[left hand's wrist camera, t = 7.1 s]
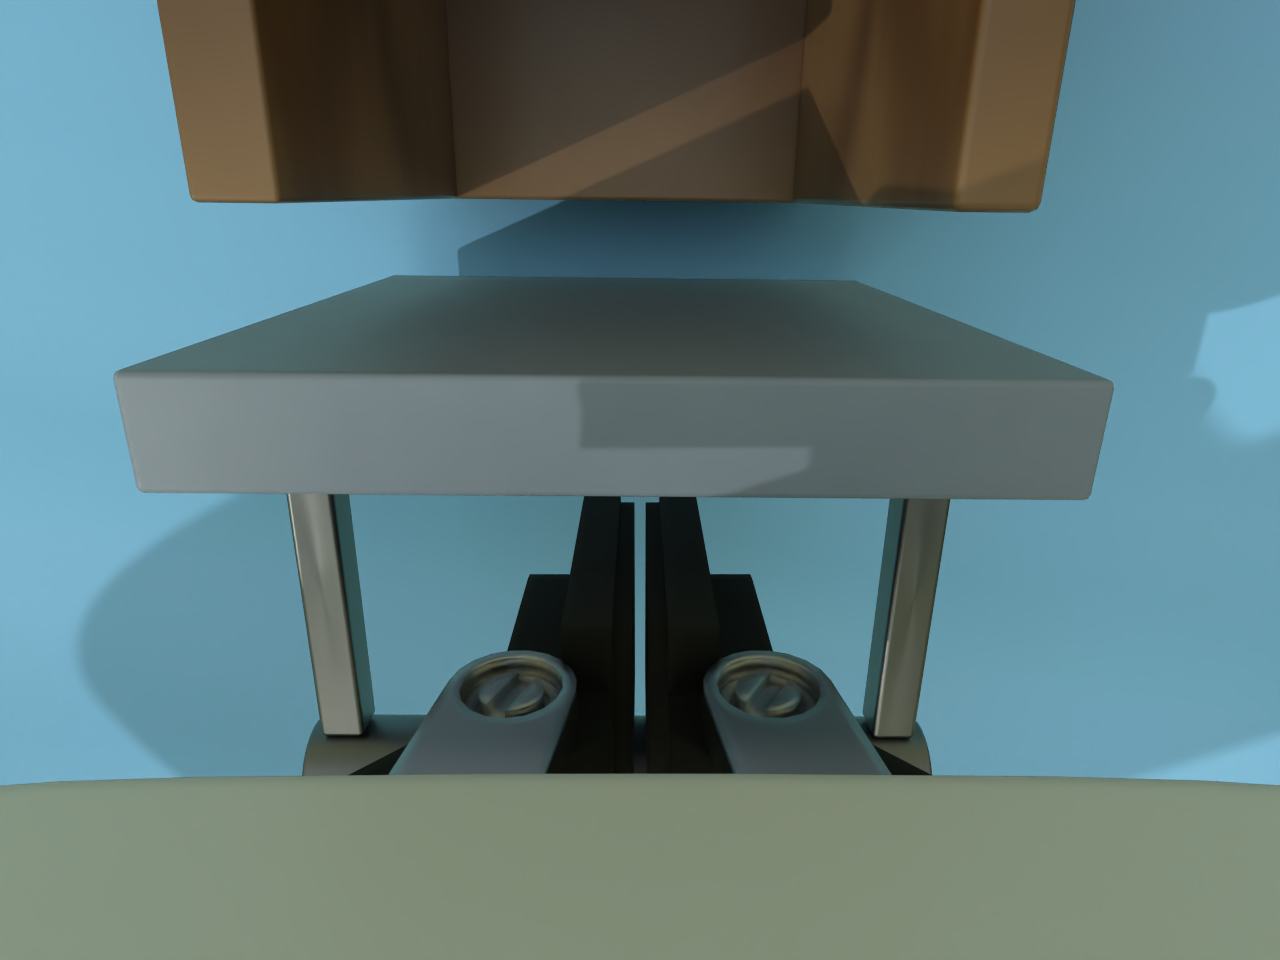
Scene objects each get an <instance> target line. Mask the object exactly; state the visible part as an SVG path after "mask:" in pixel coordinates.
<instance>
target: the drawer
mask: <svg viewBox="0 0 1280 960" xmlns="http://www.w3.org/2000/svg"><path fill="white" fill-rule="evenodd" d="M1075 1H1076V0H157V4H158V10H159V16H160V22H161V28H162V33H163V39H164V45H165V51H166V57H167V63H168V69H169V75H170V80H171V86H172V92H173V98H174V104H175V110H176V116H177V122H178V128H179V133H180V139H181V145H182V151H183V157H184V163H185V169H186V175H187V181H188V186H189V192H190V196H191V198H192V200H194V201H196V202H216V203H305V202H341V201H378V200H414V199H451V198H464V199H543V200H621V201H699V202H777V203H810V204H828V205H845V206H863V207H881V208H899V209H917V210H935V211H953V212H1010V213H1029V212H1031V211H1034V210H1036V209H1038V207H1039V205H1040V202H1041V197H1042V191H1043V185H1044V180H1045V174H1046V168H1047V162H1048V157H1049V151H1050V145H1051V139H1052V134H1053V128H1054V122H1055V116H1056V110H1057V105H1058V99H1059V93H1060V87H1061V82H1062V76H1063V70H1064V64H1065V59H1066V53H1067V47H1068V41H1069V35H1070V30H1071V24H1072V18H1073V12H1074V7H1075ZM114 384H115V388H116V393H117V398H118V402H119V407H120V411H121V416H122V421H123V425H124V430H125V434H126V439H127V444H128V448H129V453H130V458H131V462H132V467H133V471H134V476H135V481H136V485H137V488H138V489H139V491H141V492H145V493H258V494H287V501H288V507H289V514H290V521H291V527H292V534H293V541H294V548H295V554H296V561H297V568H298V574H299V581H300V588H301V595H302V601H303V608H304V615H305V621H306V628H307V635H308V642H309V648H310V655H311V662H312V668H313V675H314V682H315V689H316V695H317V702H318V709H319V715H320V720H319V721H318V722H317V724H316V725H315V727H314V729H313V731H312V733H311V736H310V738H309V741H308V745H307V748H306V752H305V757H304V764H303V773H302V776H347V775H349V774H351V773H353V772H355V771H357V770H359V769H361V768H363V767H365V766H367V765H369V764H370V763H372V762H374V761H376V760H378V759H380V758H382V757H384V756H386V755H388V754H390V753H392V752H394V751H396V750H398V749H400V748H401V747H403V746H405V745H407V744H408V743H409V742H410V740H411V739H412V737H413V736H414V734H415V733H416V731H417V730H418V728H419V726H420V725H421V723H422V722H423V720H424V719H425V717H426V716H427V715H373V714H374V711H375V708H374V699H373V691H372V683H371V674H370V666H369V658H368V649H367V641H366V633H365V624H364V616H363V608H362V600H361V591H360V583H359V575H358V566H357V558H356V550H355V541H354V533H353V525H352V516H351V508H350V500H349V494H387V495H516V496H644V497H773V498H890V503H889V510H888V518H887V526H886V534H885V542H884V549H883V557H882V565H881V573H880V581H879V589H878V596H877V604H876V612H875V620H874V628H873V636H872V643H871V651H870V659H869V667H868V675H867V683H866V690H865V698H864V706H863V715H864V717H855V719H856V720H857V722H858V723H859V725H860V726H861V728H862V730H863V731H864V733H865V734H866V736H867V737H868V739H869V740H870V742H871V743H872V744H873V745H875V746H877V747H879V748H881V749H882V750H884V751H886V752H888V753H890V754H892V755H894V756H896V757H898V758H900V759H902V760H904V761H906V762H908V763H910V764H912V765H913V766H915V767H917V768H919V769H921V770H923V771H925V772H927V773H929V774H931V775H932V770H931V761H930V755H929V750H928V747H927V743H926V740H925V737H924V734H923V732H922V730H921V728H920V726H919V724H918V723H917V722H916V716H917V709H918V703H919V696H920V690H921V683H922V677H923V671H924V664H925V658H926V651H927V645H928V638H929V632H930V626H931V619H932V613H933V606H934V600H935V593H936V587H937V580H938V574H939V568H940V561H941V555H942V548H943V542H944V535H945V529H946V523H947V516H948V510H949V503H950V499H1030V500H1084V499H1088V497H1089V496H1090V494H1091V490H1092V485H1093V481H1094V476H1095V472H1096V467H1097V463H1098V458H1099V453H1100V449H1101V444H1102V440H1103V435H1104V431H1105V426H1106V422H1107V417H1108V412H1109V408H1110V403H1111V399H1112V394H1113V390H1114V388H1113V383H1112V381H1109V380H1107V379H1105V378H1102V377H1100V376H1097V375H1095V374H1092V373H1090V372H1087V371H1084V370H1082V369H1079V368H1077V367H1074V366H1072V365H1069V364H1067V363H1064V362H1061V361H1059V360H1056V359H1054V358H1051V357H1049V356H1046V355H1043V354H1041V353H1038V352H1036V351H1033V350H1031V349H1028V348H1026V347H1023V346H1020V345H1018V344H1015V343H1013V342H1010V341H1008V340H1005V339H1003V338H1000V337H997V336H995V335H992V334H990V333H987V332H985V331H982V330H980V329H977V328H974V327H972V326H969V325H967V324H964V323H962V322H959V321H956V320H954V319H951V318H949V317H946V316H944V315H941V314H939V313H936V312H933V311H931V310H928V309H926V308H923V307H921V306H918V305H916V304H913V303H910V302H908V301H905V300H903V299H900V298H898V297H895V296H893V295H890V294H887V293H885V292H882V291H880V290H877V289H875V288H872V287H869V286H867V285H864V284H862V283H859V282H857V281H835V280H747V279H660V278H573V277H486V276H399V275H394V276H391V277H388V278H385V279H382V280H379V281H376V282H373V283H371V284H368V285H365V286H362V287H359V288H356V289H353V290H350V291H347V292H344V293H342V294H339V295H336V296H333V297H330V298H327V299H324V300H321V301H318V302H315V303H313V304H310V305H307V306H304V307H301V308H298V309H295V310H292V311H289V312H286V313H283V314H281V315H278V316H275V317H272V318H269V319H266V320H263V321H260V322H257V323H254V324H252V325H249V326H246V327H243V328H240V329H237V330H234V331H231V332H228V333H225V334H223V335H220V336H217V337H214V338H211V339H208V340H205V341H202V342H199V343H196V344H193V345H191V346H188V347H185V348H182V349H179V350H176V351H173V352H170V353H167V354H164V355H162V356H159V357H156V358H153V359H150V360H147V361H144V362H141V363H138V364H135V365H133V366H130V367H127V368H124V369H121V370H119V371H116V372H115V374H114ZM634 774H646V716H634Z"/></svg>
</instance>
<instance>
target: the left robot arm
mask: <svg viewBox="0 0 1280 960" xmlns="http://www.w3.org/2000/svg"><path fill="white" fill-rule="evenodd" d="M645 693H646V774H634V702H635V542H634V502H621V496H584V500H583V506H582V511H581V517H580V522H579V528H578V533H577V539H576V544H575V550H574V555H573V561H572V567H571V572H570V574H530V575H529V578H528V581H527V584H526V588H525V591H524V595H523V598H522V602H521V605H520V609H519V612H518V616H517V619H516V623H515V626H514V630H513V633H512V636H511V640H510V643H509V647H508V650H507V651H506V652H501V653H495V654H490V655H488V656H485V657H482V658H479V659H477V660H474V661H472V662H471V663H469V664H467V665H466V666H464V667H462V668H461V669H459V670H458V671H457V673H456V674H455V675H454V676H453V677H452V678H451V679H450V680H449V682H448V683H447V685H446V686H445V688H444V689H443V691H442V692H441V694H440V695H439V697H438V699H437V700H436V702H435V703H434V705H433V706H432V708H431V709H430V711H429V713H428V714H427V716H426V717H425V719H424V720H423V722H422V723H421V725H420V726H419V728H418V730H417V731H416V733H415V734H414V736H413V737H412V739H411V740H410V742H409V743H408V744H407V745H405V746H403V747H401V748H400V749H398V750H396V751H394V752H392V753H390V754H388V755H386V756H384V757H382V758H380V759H378V760H376V761H374V762H372V763H370V764H369V765H367V766H365V767H363V768H361V769H359V770H357V771H355V772H353V773H351V774H349V775H347V776H257V777H184V778H152V779H121V780H89V781H59V782H45V783H31V784H17V785H3V786H0V960H1280V785H1264V784H1249V783H1233V782H1217V781H1197V780H1161V779H1124V778H1088V777H1045V776H933V775H931V774H929V773H927V772H925V771H923V770H921V769H919V768H917V767H915V766H913V765H912V764H910V763H908V762H906V761H904V760H902V759H900V758H898V757H896V756H894V755H892V754H890V753H888V752H886V751H884V750H882V749H881V748H879V747H877V746H875V745H873V744H872V743H871V742H870V740H869V739H868V737H867V736H866V734H865V733H864V731H863V730H862V728H861V726H860V725H859V723H858V722H857V720H856V719H855V717H854V716H853V714H852V713H851V711H850V709H849V708H848V706H847V705H846V703H845V702H844V700H843V699H842V697H841V695H840V694H839V692H838V691H837V689H836V688H835V686H834V685H833V683H832V682H831V680H830V679H829V678H828V677H827V676H826V675H825V674H824V673H823V671H822V670H821V669H819V668H818V667H816V666H814V665H813V664H811V663H809V662H808V661H806V660H803V659H801V658H798V657H795V656H792V655H790V654H785V653H779V652H774V651H773V650H772V647H771V643H770V640H769V636H768V633H767V629H766V626H765V622H764V619H763V615H762V612H761V608H760V605H759V601H758V598H757V594H756V591H755V587H754V584H753V580H752V578H751V575H750V574H710V572H709V566H708V560H707V555H706V549H705V544H704V538H703V533H702V527H701V522H700V516H699V511H698V505H697V500H696V497H659V502H646V581H645Z"/></svg>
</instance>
